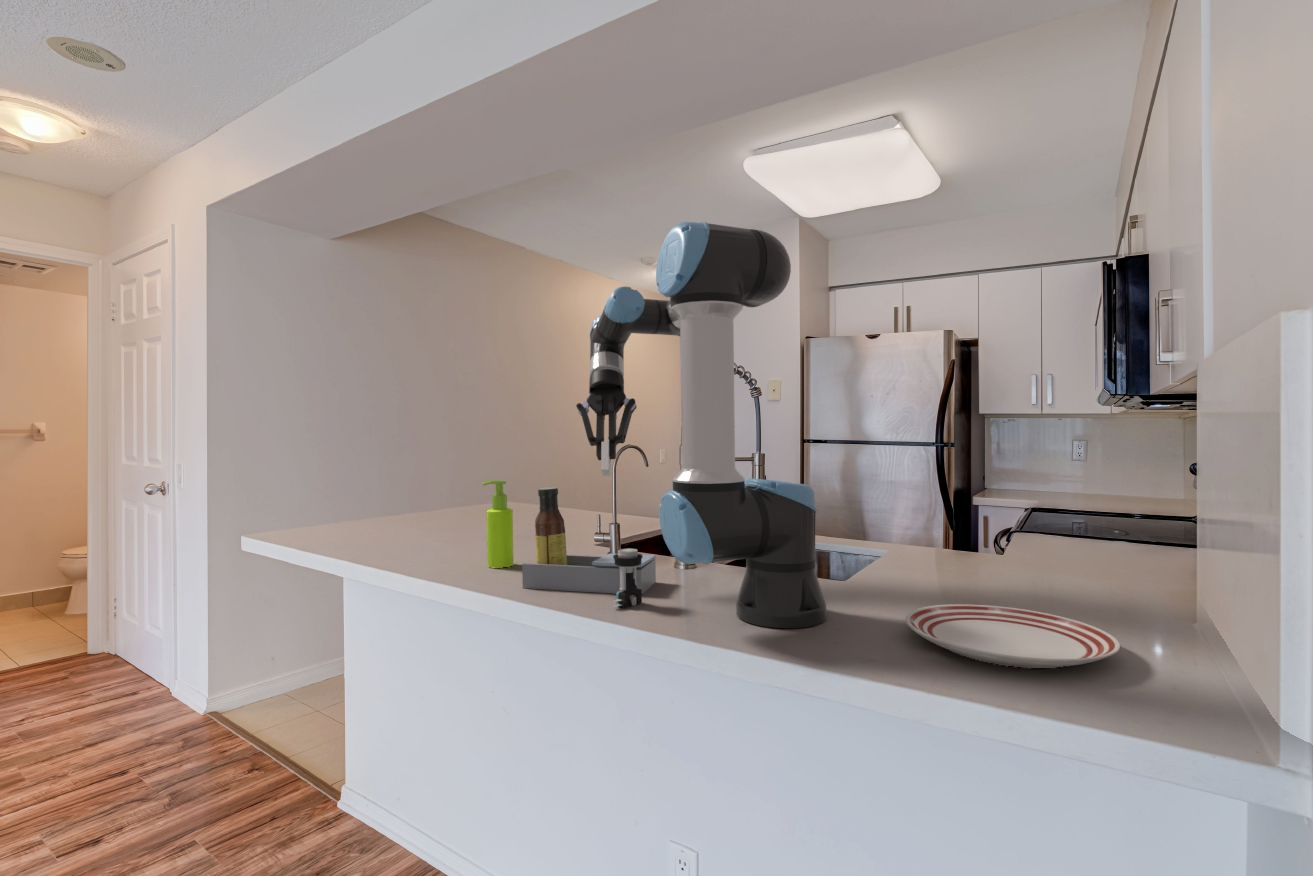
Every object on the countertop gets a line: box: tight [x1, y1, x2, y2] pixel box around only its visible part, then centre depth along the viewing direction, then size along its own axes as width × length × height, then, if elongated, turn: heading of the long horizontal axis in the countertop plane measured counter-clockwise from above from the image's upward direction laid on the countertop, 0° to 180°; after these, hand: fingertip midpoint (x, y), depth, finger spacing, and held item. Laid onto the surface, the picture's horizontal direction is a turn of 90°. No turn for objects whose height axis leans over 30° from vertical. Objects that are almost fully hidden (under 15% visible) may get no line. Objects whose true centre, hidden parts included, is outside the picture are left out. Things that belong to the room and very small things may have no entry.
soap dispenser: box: [480, 480, 514, 569], centre depth 154 cm, size 6×7×20 cm
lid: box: [592, 553, 656, 567], centre depth 133 cm, size 10×11×1 cm
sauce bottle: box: [534, 486, 568, 565], centre depth 137 cm, size 7×6×20 cm
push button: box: [612, 547, 644, 609], centre depth 120 cm, size 7×5×10 cm
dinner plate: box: [904, 603, 1121, 669], centre depth 97 cm, size 27×27×3 cm
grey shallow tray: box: [521, 554, 657, 595], centre depth 135 cm, size 25×11×5 cm, turn 75°
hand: (606, 472), depth 133 cm, fingers closed
